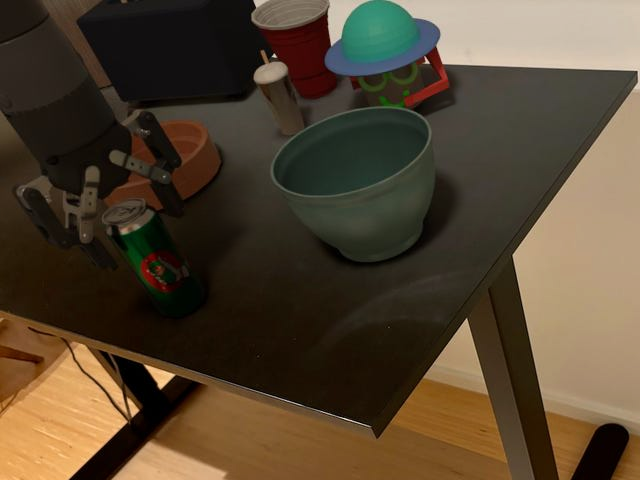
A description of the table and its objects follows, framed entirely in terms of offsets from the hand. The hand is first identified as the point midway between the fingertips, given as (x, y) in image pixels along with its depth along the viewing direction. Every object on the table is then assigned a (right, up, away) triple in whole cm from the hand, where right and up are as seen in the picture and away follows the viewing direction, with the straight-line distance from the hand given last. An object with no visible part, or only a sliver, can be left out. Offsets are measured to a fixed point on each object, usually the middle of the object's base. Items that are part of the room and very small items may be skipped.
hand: (144, 241), depth 71 cm
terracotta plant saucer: (-9, +12, +25) cm, 29 cm away
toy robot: (+22, +22, +27) cm, 41 cm away
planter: (-32, +38, +55) cm, 74 cm away
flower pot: (+22, +2, +8) cm, 24 cm away
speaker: (-11, +32, +44) cm, 56 cm away
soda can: (+2, -6, +6) cm, 9 cm away
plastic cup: (+9, +28, +36) cm, 46 cm away
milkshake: (+7, +20, +29) cm, 36 cm away
